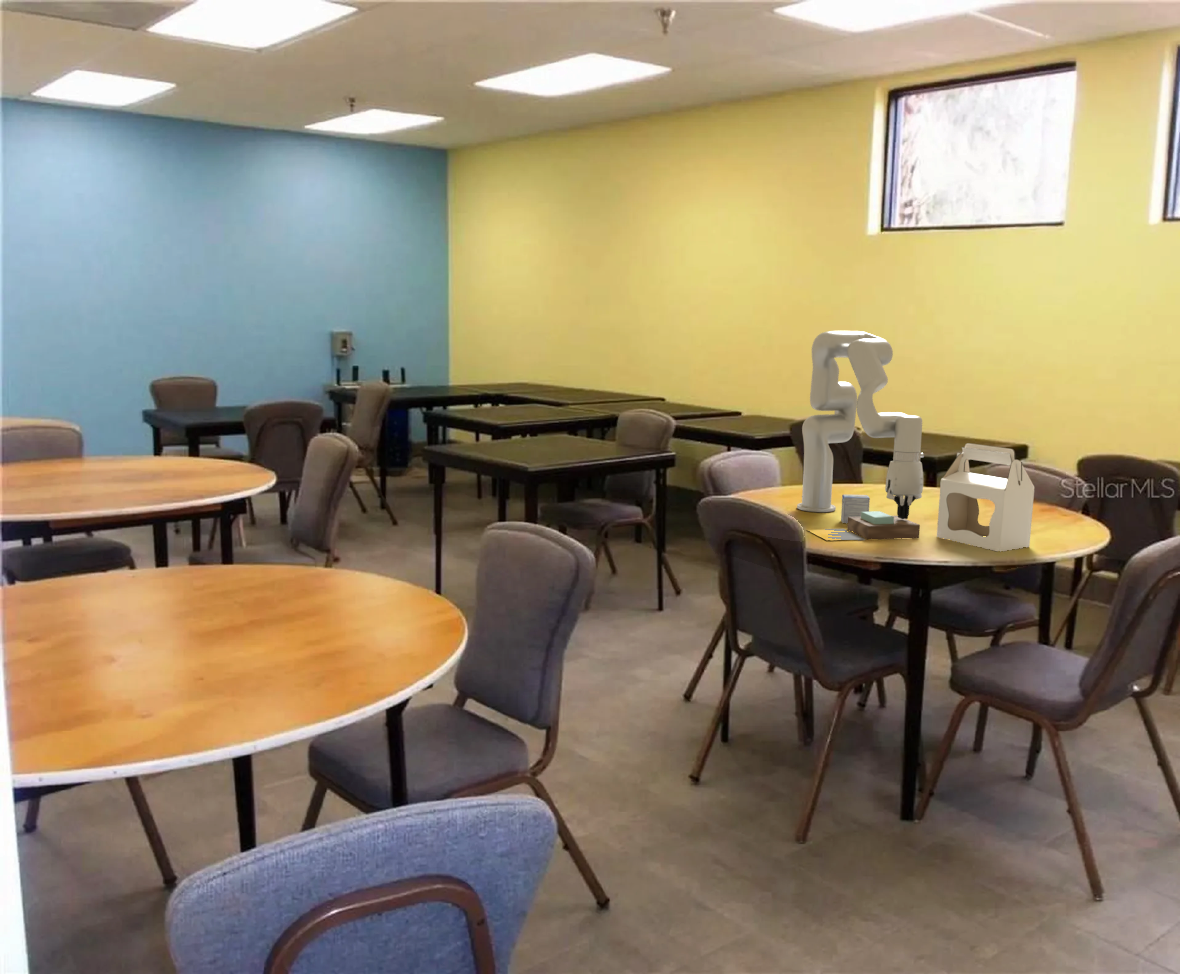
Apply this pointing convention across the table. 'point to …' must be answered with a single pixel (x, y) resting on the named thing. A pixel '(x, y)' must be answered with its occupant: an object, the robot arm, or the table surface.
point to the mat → (845, 535)
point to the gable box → (1007, 495)
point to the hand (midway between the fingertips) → (902, 518)
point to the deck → (884, 528)
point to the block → (877, 517)
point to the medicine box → (854, 506)
